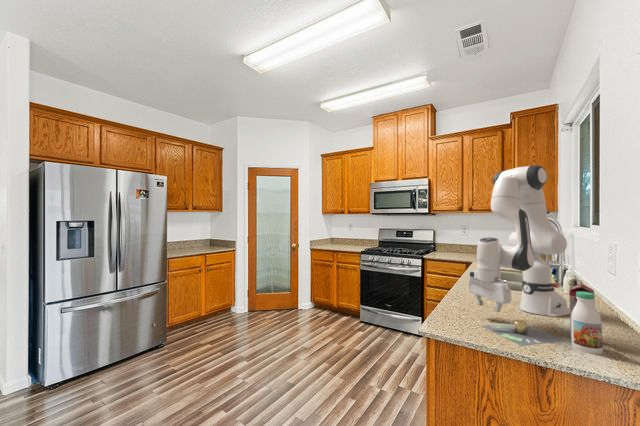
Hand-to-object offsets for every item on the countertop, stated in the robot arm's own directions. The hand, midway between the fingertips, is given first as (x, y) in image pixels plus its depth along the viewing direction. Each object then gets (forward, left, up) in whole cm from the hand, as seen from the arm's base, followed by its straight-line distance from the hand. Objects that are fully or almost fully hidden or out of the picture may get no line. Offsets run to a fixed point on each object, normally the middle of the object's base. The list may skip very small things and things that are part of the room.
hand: (488, 308), depth 123 cm
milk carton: (-21, +21, -7) cm, 31 cm away
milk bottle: (-13, +28, -7) cm, 32 cm away
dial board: (-3, +12, -7) cm, 15 cm away
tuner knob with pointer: (0, +10, -6) cm, 12 cm away
